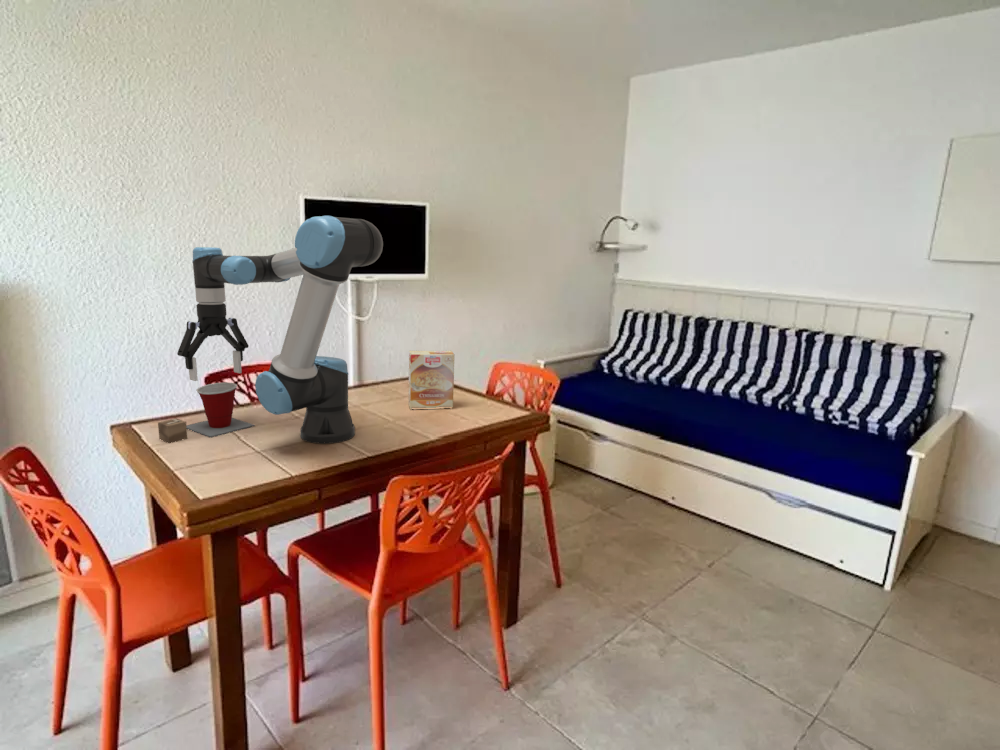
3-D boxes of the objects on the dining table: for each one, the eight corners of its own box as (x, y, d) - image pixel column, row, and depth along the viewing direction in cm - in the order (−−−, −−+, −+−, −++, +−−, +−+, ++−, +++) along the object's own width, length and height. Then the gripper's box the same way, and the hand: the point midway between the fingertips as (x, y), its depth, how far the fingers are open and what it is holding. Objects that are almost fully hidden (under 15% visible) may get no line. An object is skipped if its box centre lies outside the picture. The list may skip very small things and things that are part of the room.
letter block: (187, 438, 163) (185, 421, 162) (169, 443, 159) (167, 425, 158) (177, 435, 166) (176, 417, 165) (159, 439, 162) (157, 421, 161)
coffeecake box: (409, 410, 200) (410, 354, 195) (408, 404, 206) (408, 350, 202) (453, 409, 203) (455, 353, 199) (450, 403, 210) (451, 350, 206)
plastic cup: (193, 424, 174) (190, 385, 172) (230, 417, 182) (228, 380, 179) (206, 433, 167) (203, 392, 164) (245, 426, 174) (243, 387, 172)
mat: (254, 426, 176) (254, 424, 176) (210, 437, 165) (210, 436, 165) (226, 417, 184) (226, 415, 184) (182, 427, 172) (182, 426, 172)
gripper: (242, 299, 178) (247, 367, 183) (158, 304, 158) (166, 381, 162) (258, 301, 175) (262, 371, 179) (174, 306, 154) (181, 385, 158)
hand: (216, 376), depth 171 cm, fingers open, 13 cm apart
